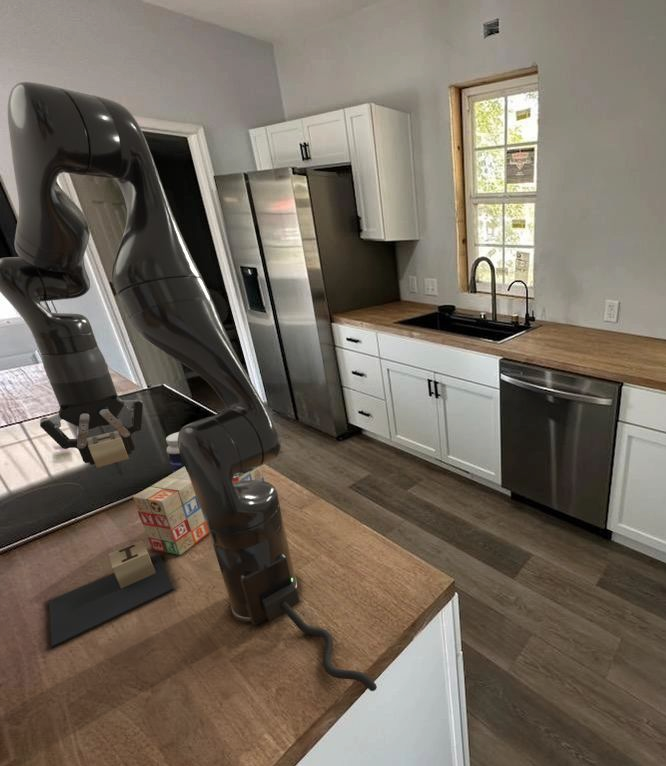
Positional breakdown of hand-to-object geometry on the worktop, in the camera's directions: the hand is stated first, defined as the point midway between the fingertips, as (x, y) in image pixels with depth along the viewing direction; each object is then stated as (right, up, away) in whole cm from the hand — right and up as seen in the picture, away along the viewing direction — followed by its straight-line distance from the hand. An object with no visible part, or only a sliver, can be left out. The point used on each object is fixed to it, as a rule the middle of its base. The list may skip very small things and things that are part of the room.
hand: (111, 457), depth 79 cm
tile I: (+12, -19, -8) cm, 23 cm away
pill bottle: (-2, -8, +22) cm, 23 cm away
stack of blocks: (+15, -14, +7) cm, 21 cm away
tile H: (0, 0, 0) cm, 0 cm away
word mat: (+12, -21, -11) cm, 26 cm away
